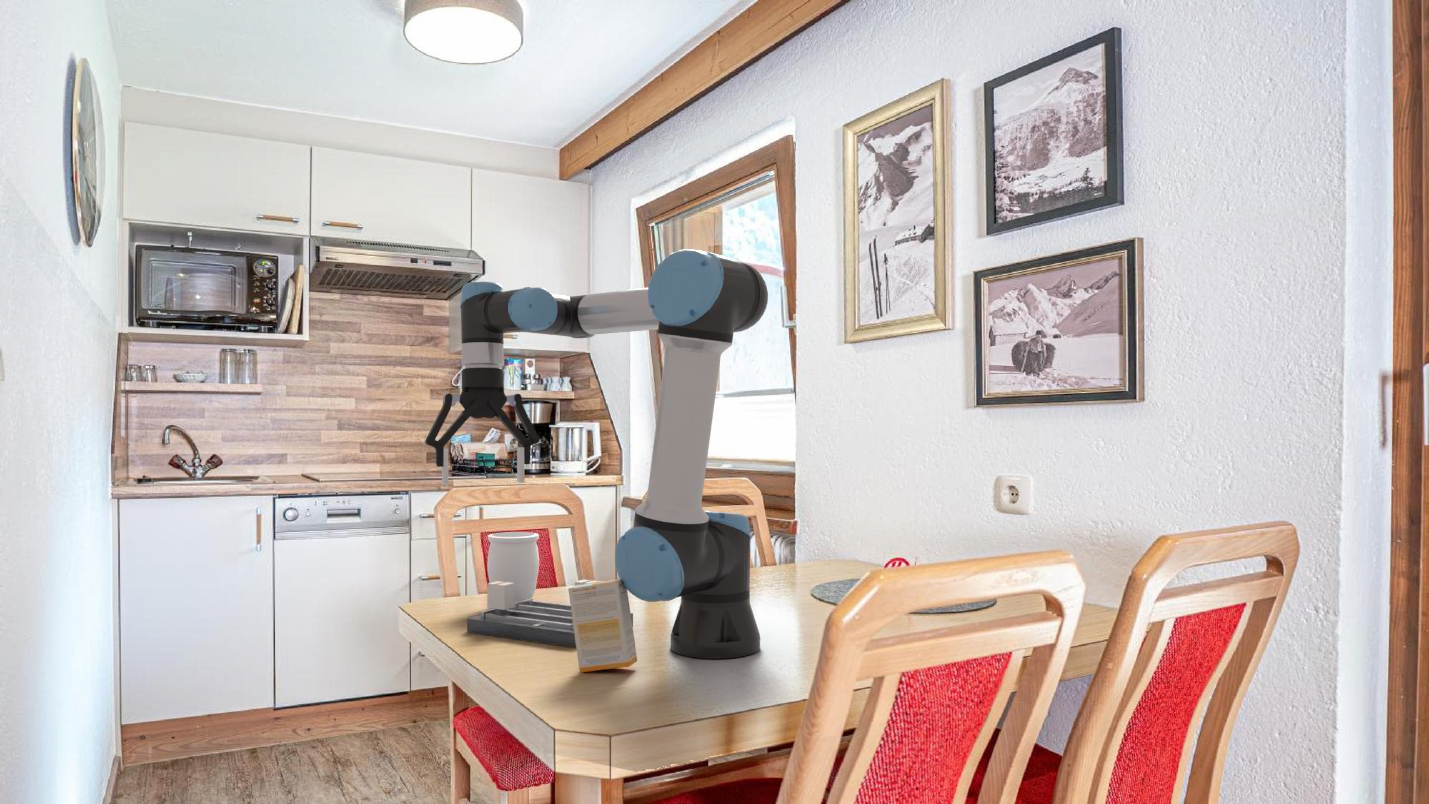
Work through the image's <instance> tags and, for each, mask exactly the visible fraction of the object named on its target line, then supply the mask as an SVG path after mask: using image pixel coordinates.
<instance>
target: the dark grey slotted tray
mask: <svg viewBox="0 0 1429 804" xmlns="http://www.w3.org/2000/svg"><path fill="white" fill-rule="evenodd" d="M630 613H631V620H632V627H634V613H633V612H630ZM466 633H467V634H475V635H481V636H490V637H496V638H497V637H498V638H503V639H511V640H519V641H523V642H524V641H525V642H530V643H531V642H532V643H538V644H545V645H552V646H560V647H566V648H571V649H572V648H573V649H576V642H575V634H574V627H573V620H572V612H571V605H570V604H566V603H565V604H564V603H556V602H548V601H541V600H540V601H539V600H534V598H531V599H527V600H523V601H519V602H516V603H514V607H513V608H509V609H507V613H506V614H503V615H498V614H495V609H494V608H488V609H486V610H482V611H480V614H478V615H475V616H472V617H468V618H467V619H466Z"/></svg>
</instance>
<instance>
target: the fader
mask: <svg viewBox="0 0 1429 804" xmlns="http://www.w3.org/2000/svg"><path fill="white" fill-rule="evenodd" d="M486 589H487V597H486V601H487V602H486V603H487V604H486V605H487V606H486V607H487V609H493V608H494V609H495V614H498V615H503V614H506V613H507V609H509V608H513V607H514V603H515V583H510V582H506V581H505V582H500V581H496V582H492V583H489V582H488V583H487V587H486Z"/></svg>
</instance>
